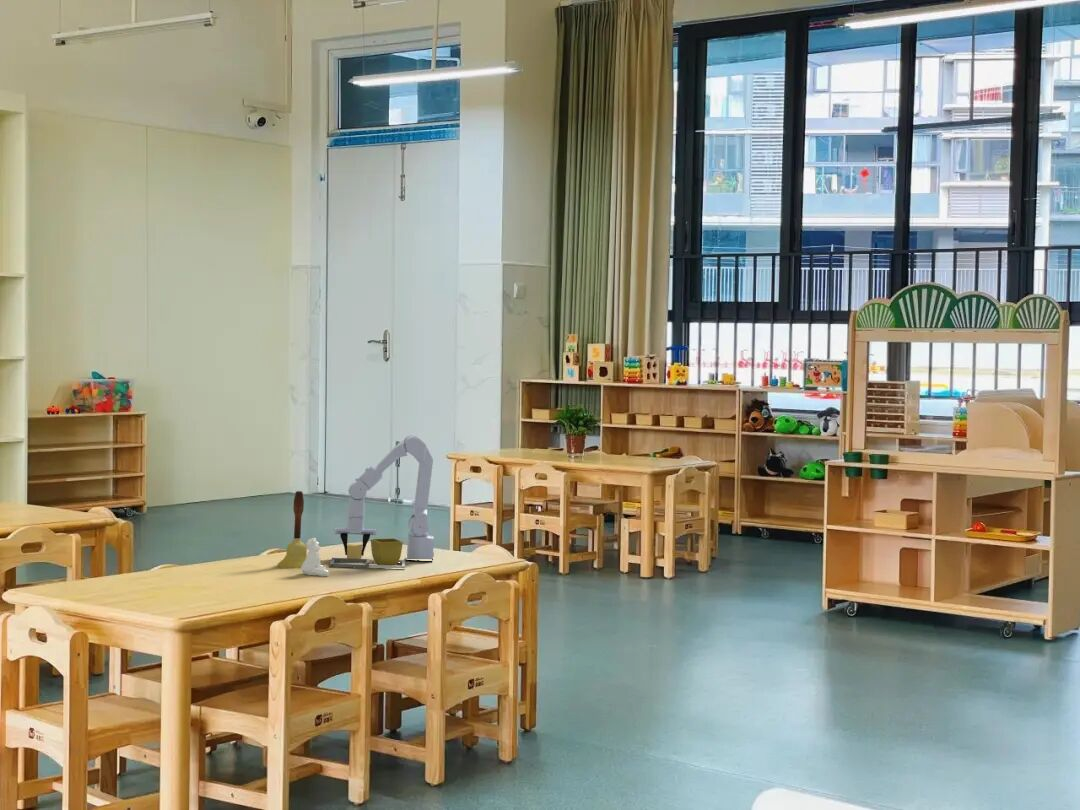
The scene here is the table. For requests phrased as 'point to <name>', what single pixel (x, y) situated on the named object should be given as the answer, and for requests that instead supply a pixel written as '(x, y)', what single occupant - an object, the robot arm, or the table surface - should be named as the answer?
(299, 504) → the handbell
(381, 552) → the flower pot
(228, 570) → the table surface
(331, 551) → the table surface
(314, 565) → the white creature statuette
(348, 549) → the ochre block
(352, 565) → the sorting board
